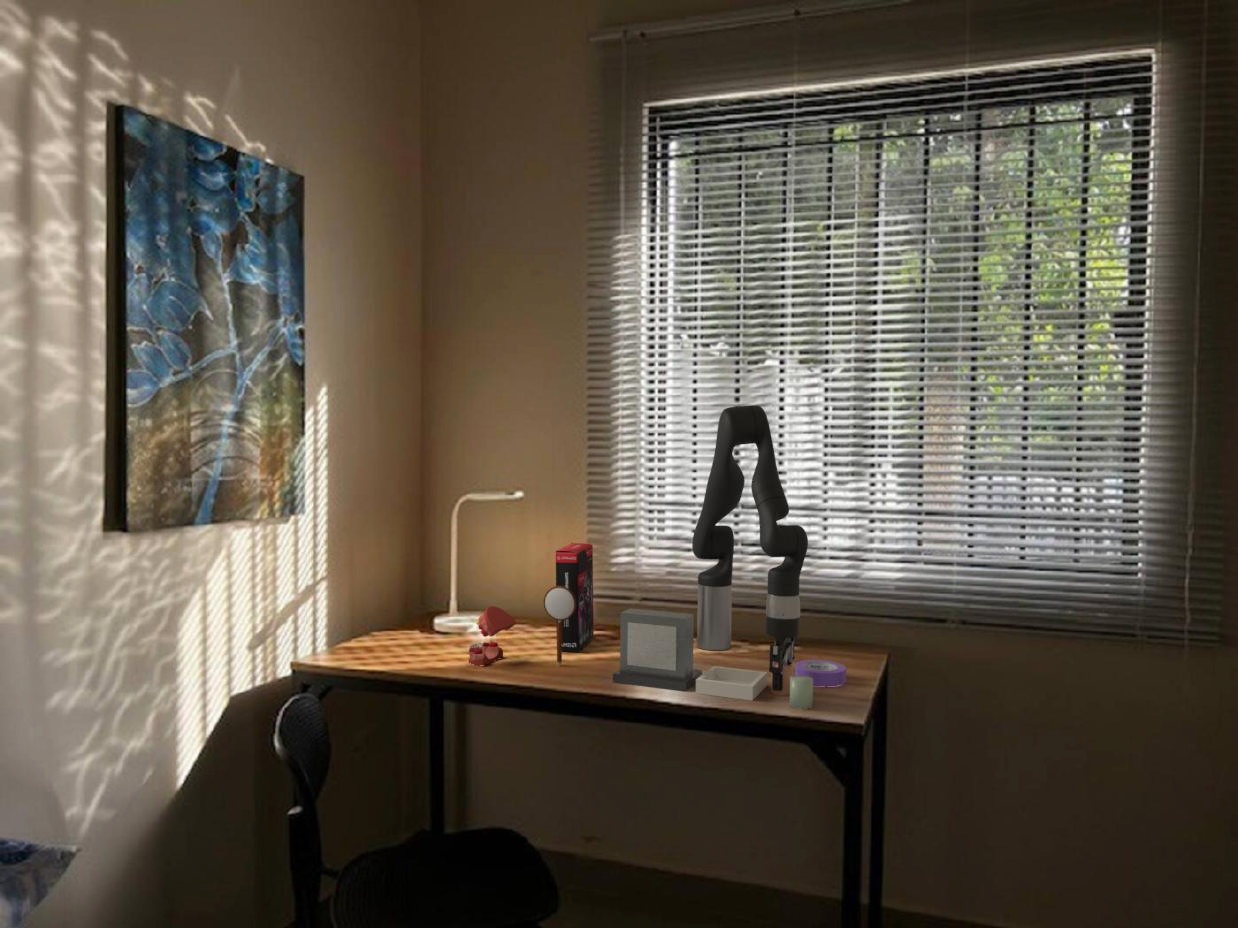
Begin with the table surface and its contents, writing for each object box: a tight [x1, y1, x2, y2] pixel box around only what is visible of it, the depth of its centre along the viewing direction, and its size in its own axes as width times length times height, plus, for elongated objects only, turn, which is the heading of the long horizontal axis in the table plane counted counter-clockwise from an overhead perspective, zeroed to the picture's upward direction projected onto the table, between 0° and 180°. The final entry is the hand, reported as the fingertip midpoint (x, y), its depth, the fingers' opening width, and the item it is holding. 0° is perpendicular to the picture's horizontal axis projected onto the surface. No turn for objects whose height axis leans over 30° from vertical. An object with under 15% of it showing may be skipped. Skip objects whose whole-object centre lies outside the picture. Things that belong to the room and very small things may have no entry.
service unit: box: [612, 607, 703, 692], centre depth 212 cm, size 12×18×16 cm, turn 67°
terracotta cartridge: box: [770, 665, 794, 697], centre depth 202 cm, size 5×5×6 cm
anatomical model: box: [467, 605, 517, 666], centre depth 228 cm, size 10×8×15 cm
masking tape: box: [794, 659, 847, 687], centre depth 213 cm, size 12×12×4 cm
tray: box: [695, 665, 768, 701], centre depth 205 cm, size 13×13×3 cm
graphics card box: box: [555, 542, 595, 653], centre depth 246 cm, size 17×7×27 cm, turn 168°
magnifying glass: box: [543, 585, 576, 667], centre depth 224 cm, size 9×2×20 cm, turn 71°
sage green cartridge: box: [789, 675, 814, 709], centre depth 193 cm, size 5×5×6 cm
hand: (781, 685), depth 202 cm, fingers open, 8 cm apart
